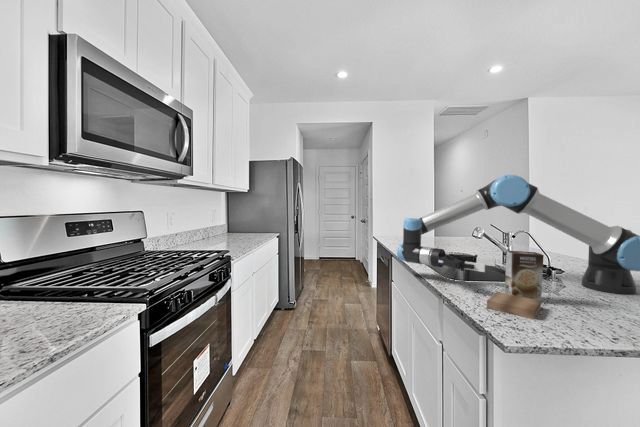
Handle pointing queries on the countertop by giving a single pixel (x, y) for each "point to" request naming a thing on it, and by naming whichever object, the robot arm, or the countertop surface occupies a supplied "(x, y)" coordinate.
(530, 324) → the countertop surface
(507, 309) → the walnut board
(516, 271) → the brown food box
